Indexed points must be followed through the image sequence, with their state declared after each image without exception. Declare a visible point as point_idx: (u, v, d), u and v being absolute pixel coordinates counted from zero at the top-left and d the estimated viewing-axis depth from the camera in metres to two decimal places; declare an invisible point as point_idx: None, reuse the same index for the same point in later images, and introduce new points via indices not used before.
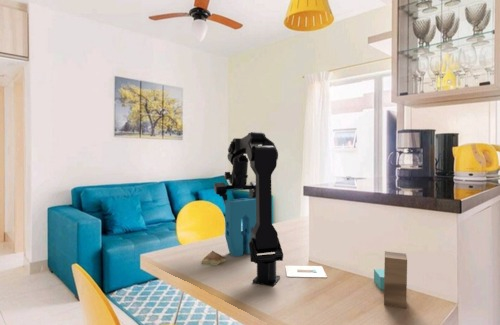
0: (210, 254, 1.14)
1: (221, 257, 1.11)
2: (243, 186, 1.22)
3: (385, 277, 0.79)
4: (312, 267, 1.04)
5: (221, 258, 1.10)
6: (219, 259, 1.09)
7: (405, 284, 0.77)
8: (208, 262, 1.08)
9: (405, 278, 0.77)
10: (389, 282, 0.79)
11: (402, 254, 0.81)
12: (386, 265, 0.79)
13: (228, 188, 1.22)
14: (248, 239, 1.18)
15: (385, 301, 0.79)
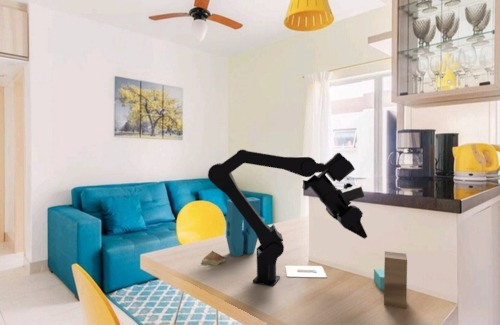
0: (210, 255, 1.14)
1: (221, 257, 1.11)
2: (331, 213, 0.92)
3: (385, 277, 0.79)
4: (312, 267, 1.04)
5: (221, 258, 1.10)
6: (219, 259, 1.09)
7: (405, 284, 0.77)
8: (208, 262, 1.08)
9: (405, 278, 0.77)
10: (389, 282, 0.79)
11: (402, 254, 0.81)
12: (386, 265, 0.79)
13: None
14: (249, 239, 1.17)
15: (385, 301, 0.79)
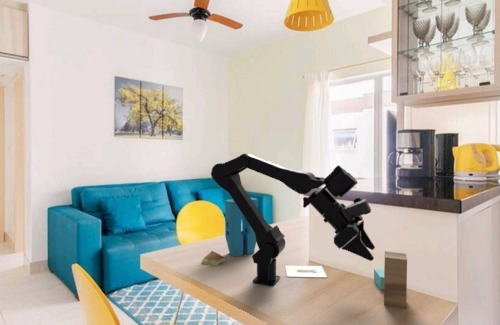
0: (210, 254, 1.14)
1: (221, 257, 1.11)
2: None
3: (385, 277, 0.79)
4: (312, 267, 1.04)
5: (221, 258, 1.10)
6: (219, 259, 1.09)
7: (405, 284, 0.77)
8: (208, 262, 1.08)
9: (405, 278, 0.77)
10: (389, 282, 0.79)
11: (402, 254, 0.81)
12: (386, 265, 0.79)
13: None
14: (248, 239, 1.18)
15: (385, 301, 0.79)
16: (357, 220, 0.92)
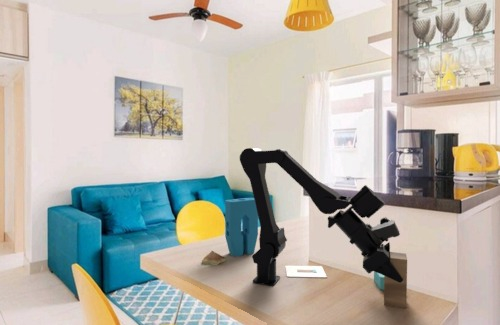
0: (210, 255, 1.14)
1: (221, 257, 1.11)
2: None
3: (385, 277, 0.79)
4: (312, 267, 1.04)
5: (221, 258, 1.10)
6: (219, 259, 1.09)
7: (405, 284, 0.77)
8: (208, 262, 1.08)
9: (405, 278, 0.77)
10: (389, 282, 0.79)
11: (402, 254, 0.81)
12: None
13: None
14: (248, 239, 1.18)
15: (385, 301, 0.79)
16: (382, 240, 0.90)
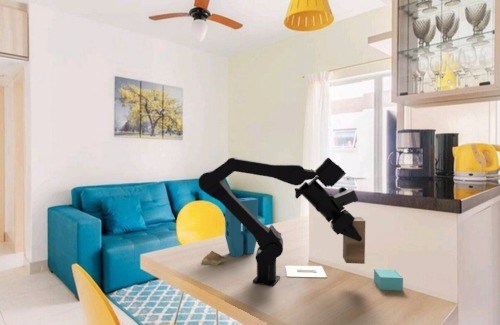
0: (210, 254, 1.14)
1: (221, 257, 1.11)
2: (326, 219, 0.91)
3: (347, 238, 0.89)
4: (312, 267, 1.04)
5: (221, 258, 1.10)
6: (219, 259, 1.09)
7: (364, 242, 0.88)
8: (208, 262, 1.08)
9: (363, 237, 0.88)
10: (350, 242, 0.89)
11: (358, 217, 0.92)
12: None
13: None
14: (248, 239, 1.18)
15: (347, 260, 0.89)
16: None
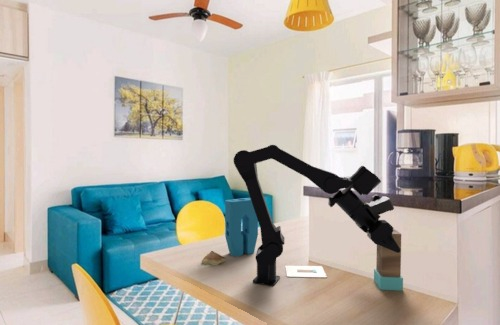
0: (210, 254, 1.14)
1: (221, 257, 1.11)
2: (361, 228, 0.90)
3: (383, 251, 0.88)
4: (312, 267, 1.04)
5: (221, 258, 1.10)
6: (219, 259, 1.09)
7: (399, 255, 0.87)
8: (208, 262, 1.08)
9: None
10: (386, 255, 0.88)
11: (393, 230, 0.91)
12: None
13: None
14: (248, 239, 1.18)
15: (382, 273, 0.88)
16: None
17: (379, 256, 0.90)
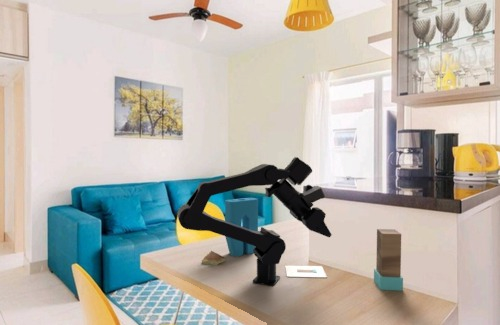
0: (210, 255, 1.14)
1: (221, 257, 1.11)
2: (296, 216, 0.94)
3: (383, 251, 0.88)
4: (312, 267, 1.04)
5: (221, 258, 1.10)
6: (219, 259, 1.09)
7: (399, 255, 0.87)
8: (208, 262, 1.08)
9: (399, 250, 0.87)
10: (386, 255, 0.88)
11: (393, 230, 0.91)
12: (383, 240, 0.88)
13: None
14: None
15: (382, 273, 0.88)
16: None
17: (379, 256, 0.90)
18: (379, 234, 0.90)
